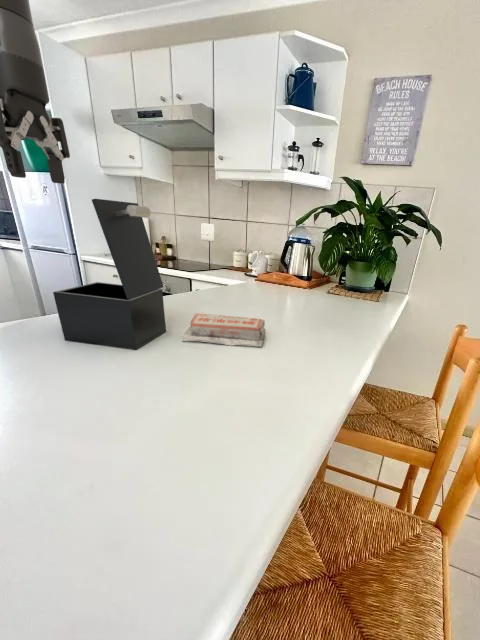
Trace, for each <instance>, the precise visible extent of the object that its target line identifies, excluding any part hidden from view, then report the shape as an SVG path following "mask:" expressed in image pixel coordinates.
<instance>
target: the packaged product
mask: <svg viewBox="0 0 480 640" xmlns="http://www.w3.org/2000/svg"><path fill="white" fill-rule="evenodd" d="M265 324H266V323H265V319H262V318H253V317H244V316H233V315H222V314H210V313H194V314H193V317H192V319H191V320H190V324H189V325H190V326H189V328H187V329H186V330H185V331H184V332H183V334H182V335H180V338H181V341H183V342H198V343H199V342H201V343H202V342H203V343H211V344H219V345H220V344H221V345H226V346H242V347H256V348H262V346H263V344H264V341H265V337H266V333H267V331H266V328H265V326H266V325H265Z"/></svg>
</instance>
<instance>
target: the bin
mask: <svg viewBox="0 0 480 640" xmlns="http://www.w3.org/2000/svg"><path fill="white" fill-rule="evenodd" d="M52 293H53V298H54V302H55V305H56V306H55V307H56V310H57V314H58V319H59V322H60V326H61V331H62V335H63V338H64V341H65V342H74V343H81V344H88V345H96V346H103V347H110V348H111V347H112V348H118V349H127V350H133V351H137V350H139V349H140V348H142V347H143V346H145V345H147V344H149V343H151V342H152V341H154V340H156V339H158V338H159V337H160V336H162V335H163V334H165V333H166V332H167V324H166V315H165V305H164V303H165V302H164V294H163V293H164V292H163V289H162V288H160V289H157V290H154V291H151V292H148V293H145V294H142V295H139V296H136V297H134V298H130V299H127V297H126V294H125V291H124V288H123V286H122V284H118V283H109V282H100V281H95V282H91V283H87V284H83V285H77V286H73V287H70V288H69V287H68V288H65V289H60V290H55V291H53V292H52Z"/></svg>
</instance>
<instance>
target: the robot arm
mask: <svg viewBox="0 0 480 640" xmlns="http://www.w3.org/2000/svg"><path fill="white" fill-rule="evenodd" d="M49 95H50V94H49V91H48V85H47V80H46V75H45V69H44V64H43V59H42V53H41V49H40V44H39V41H38V37H37V35H36V30H35V27H34V21H33V15H32V11H31V5H30V1H29V0H0V148H1V150H2V153H3V156H4V157H3V158H4V160H5V164H6V168H7V171H8V172H9V174H10V175H11V177H14V178H19V179H25V178H26V177H27V175H26V170H25V165H24V161H23V156H22V152H21V151H20V150H18V149H19V148H20V145H21V142H22V140H24V139H26V138H27V139H28V140H31V141H34V142H35V144H36V145H37V146H38V147H39V148H41V149H42V151H43V153H44V154H45V156H46V158H47V159H46V162H47V166H48V171H49V176H50V180H51V182H52V183H53V184H61V185H64V184H65V181H66V179H65V178H66V177H65V171H64V167H63V166H64V165H63V160H64V159H70V157H71V153H70V149H69V144H68V140H67V135H66V131H65V125H64V120H62V118H60V117H54V116H53V117H52V116H49V114H48V112H47V108H46V106H47V105H48V104H49V103H50V96H49ZM59 143H60V146H59ZM60 147H61V149H60Z"/></svg>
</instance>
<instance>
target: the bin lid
mask: <svg viewBox="0 0 480 640" xmlns="http://www.w3.org/2000/svg"><path fill="white" fill-rule="evenodd" d="M91 203H92V205H93V209H94V212H95V214H96V216H97V219H98V222H99V224H100V228H101V231H102V233H103V236H104V238H105V241H106V244H107V247H108V250H109V253H110V255H111V259H112V261H113V263H114V266H115V269H116V272H117V275H118V278H119V280H120V284H121V285H122V286H123V288H124V291H125V294H126V297H127V299H130V298H134V297H136V296H139V295H142V294H145V293H148V292H151V291H154V290H157V289H162V288H164V283H163V281H162V277H161V274H160V270H159V268H158V264H157V261H156V258H155V254H154V251H153V248H152V245H151V241H150V238H149V234H148V232H147V228H146V226H145V223H144V219H143V218H149V217H150V216H151V210H150V208H149V207H148V206H143V205H139V203H137V202H136V203H135V202H129V201H119V200H112V199H103V198H102V199H101V198H93V199H91Z"/></svg>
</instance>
